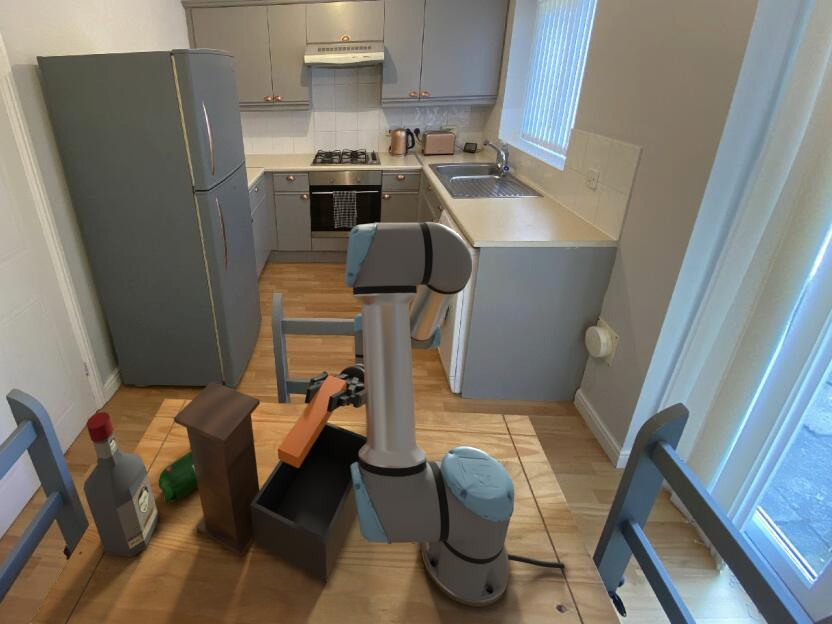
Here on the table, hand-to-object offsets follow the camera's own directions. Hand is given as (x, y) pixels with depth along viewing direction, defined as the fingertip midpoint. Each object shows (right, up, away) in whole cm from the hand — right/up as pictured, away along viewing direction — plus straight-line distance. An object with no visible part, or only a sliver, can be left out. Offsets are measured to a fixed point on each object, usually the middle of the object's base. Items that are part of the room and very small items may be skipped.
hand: (318, 400), depth 79 cm
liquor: (-37, -29, +5) cm, 47 cm away
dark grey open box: (0, -26, +9) cm, 27 cm away
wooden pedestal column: (-17, -27, +7) cm, 33 cm away
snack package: (-28, -24, +16) cm, 40 cm away
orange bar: (-1, -4, 0) cm, 4 cm away
